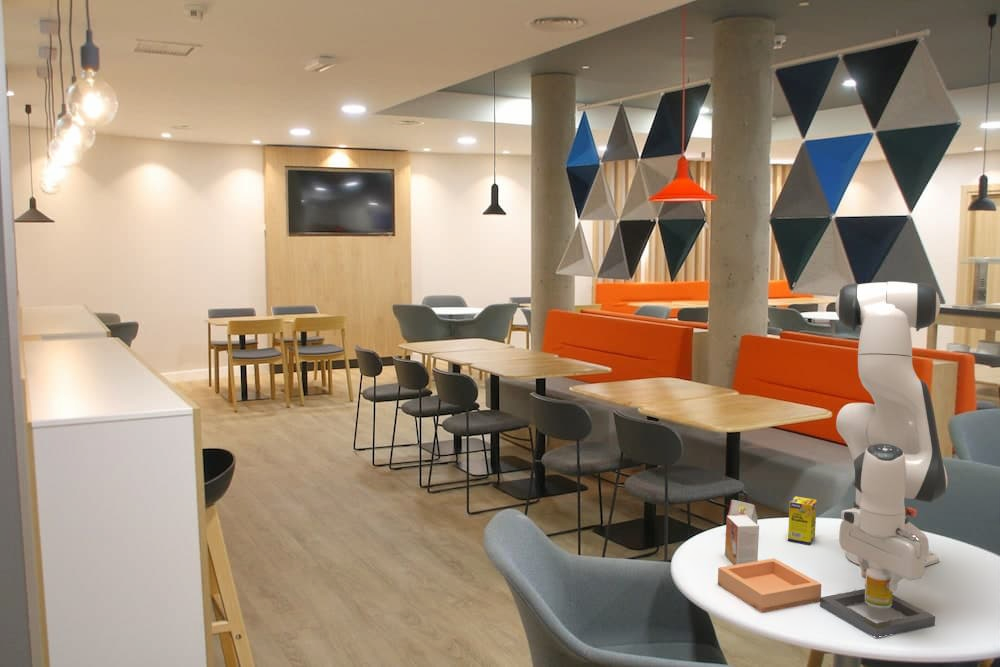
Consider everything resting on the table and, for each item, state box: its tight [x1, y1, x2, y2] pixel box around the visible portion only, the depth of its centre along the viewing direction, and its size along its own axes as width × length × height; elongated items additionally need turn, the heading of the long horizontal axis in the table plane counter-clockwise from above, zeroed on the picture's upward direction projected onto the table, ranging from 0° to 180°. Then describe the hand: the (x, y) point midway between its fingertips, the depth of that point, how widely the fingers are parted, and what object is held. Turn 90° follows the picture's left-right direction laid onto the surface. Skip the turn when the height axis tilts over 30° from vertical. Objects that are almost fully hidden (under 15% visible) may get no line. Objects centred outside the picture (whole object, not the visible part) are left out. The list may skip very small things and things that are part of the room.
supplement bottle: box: [864, 561, 894, 609], centre depth 181 cm, size 5×5×10 cm
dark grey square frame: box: [819, 588, 936, 637], centre depth 181 cm, size 16×16×2 cm
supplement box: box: [787, 495, 818, 546], centre depth 225 cm, size 6×6×11 cm
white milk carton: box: [727, 499, 759, 525], centre depth 227 cm, size 4×7×10 cm, turn 45°
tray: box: [717, 557, 822, 613], centre depth 193 cm, size 16×16×4 cm
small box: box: [724, 515, 760, 565], centre depth 211 cm, size 8×6×10 cm
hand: (878, 584), depth 181 cm, fingers closed on supplement bottle, 5 cm apart
